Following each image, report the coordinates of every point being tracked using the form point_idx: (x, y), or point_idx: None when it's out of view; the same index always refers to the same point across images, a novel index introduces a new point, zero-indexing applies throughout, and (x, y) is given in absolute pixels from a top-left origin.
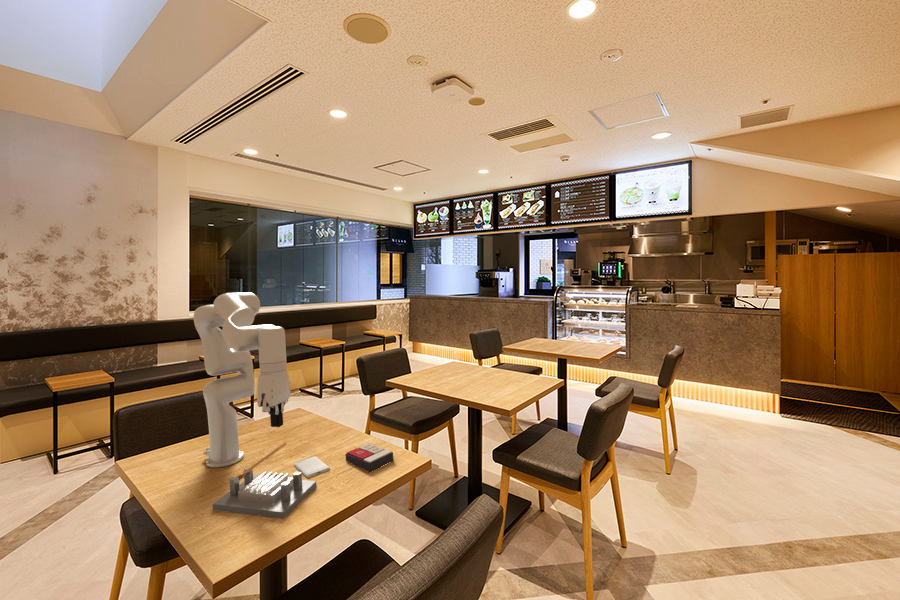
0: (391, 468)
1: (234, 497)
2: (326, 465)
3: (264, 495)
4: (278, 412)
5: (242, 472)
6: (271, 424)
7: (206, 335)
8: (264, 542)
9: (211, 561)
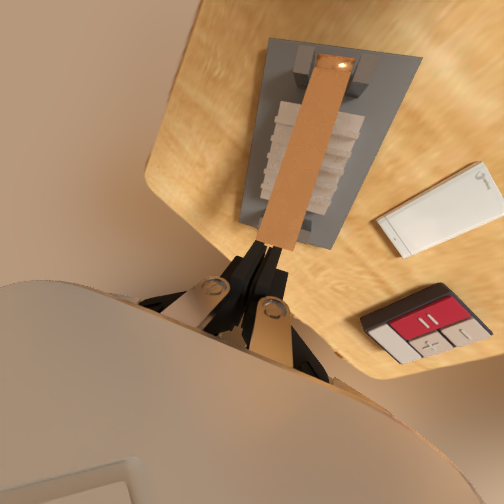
0: (364, 343)
1: (292, 87)
2: (418, 251)
3: (264, 179)
4: (220, 333)
5: (341, 64)
6: (253, 246)
7: None
8: (198, 211)
9: (161, 159)
